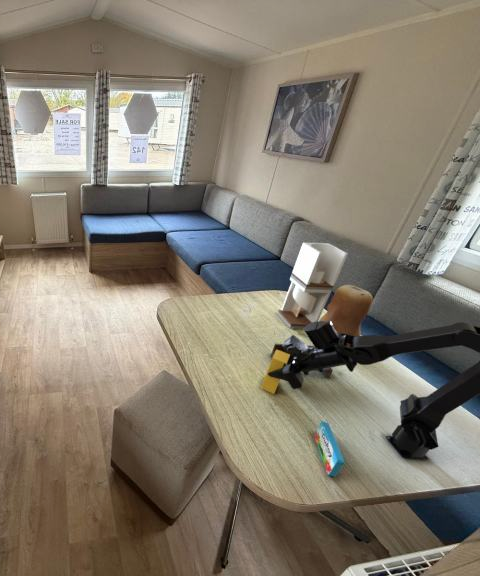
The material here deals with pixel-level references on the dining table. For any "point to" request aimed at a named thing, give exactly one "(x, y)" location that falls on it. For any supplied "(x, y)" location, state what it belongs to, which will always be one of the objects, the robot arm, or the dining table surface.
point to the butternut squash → (348, 309)
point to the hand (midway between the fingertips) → (270, 369)
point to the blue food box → (328, 449)
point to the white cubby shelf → (311, 283)
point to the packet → (276, 363)
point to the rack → (279, 347)
